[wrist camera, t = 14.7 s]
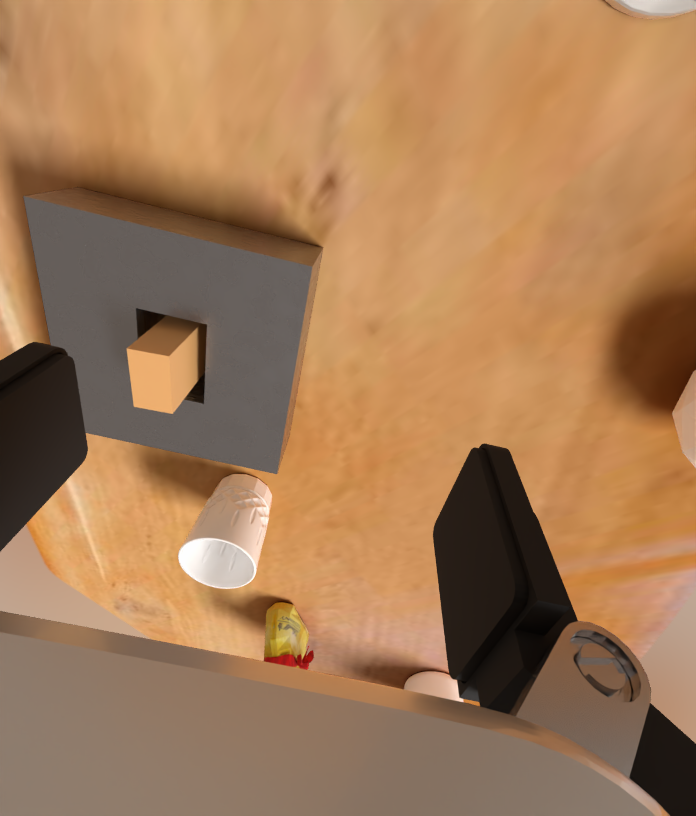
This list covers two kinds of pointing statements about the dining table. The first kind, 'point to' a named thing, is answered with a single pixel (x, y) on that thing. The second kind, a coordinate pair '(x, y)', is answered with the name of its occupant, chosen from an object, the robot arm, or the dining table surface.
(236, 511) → the white cup
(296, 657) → the chocolate bunny
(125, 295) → the collar
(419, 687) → the wine bottle
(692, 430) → the geodesic sphere
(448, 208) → the dining table surface
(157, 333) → the tall tan wooden block
